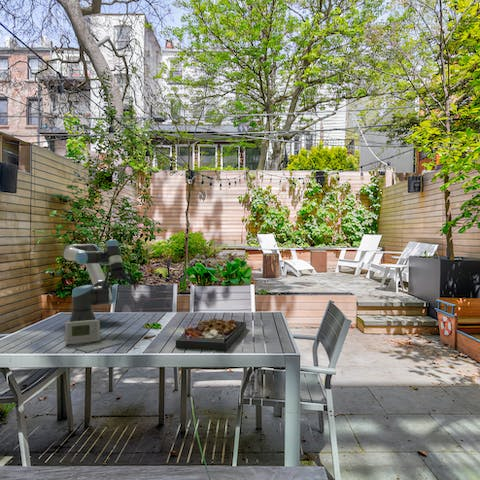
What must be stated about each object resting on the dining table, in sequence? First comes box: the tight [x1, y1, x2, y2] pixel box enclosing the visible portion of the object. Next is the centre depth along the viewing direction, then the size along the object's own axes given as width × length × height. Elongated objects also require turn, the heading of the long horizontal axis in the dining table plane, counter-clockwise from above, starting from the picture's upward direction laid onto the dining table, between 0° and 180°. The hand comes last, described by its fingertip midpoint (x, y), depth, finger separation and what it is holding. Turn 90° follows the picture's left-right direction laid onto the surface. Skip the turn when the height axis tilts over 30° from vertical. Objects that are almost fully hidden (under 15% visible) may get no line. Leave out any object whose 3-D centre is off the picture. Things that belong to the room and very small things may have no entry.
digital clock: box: [64, 319, 101, 346], centre depth 185 cm, size 16×9×11 cm, turn 103°
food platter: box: [175, 317, 247, 352], centre depth 192 cm, size 45×25×10 cm, turn 167°
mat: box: [75, 339, 122, 353], centre depth 177 cm, size 10×18×1 cm, turn 145°
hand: (122, 297), depth 213 cm, fingers open, 13 cm apart
